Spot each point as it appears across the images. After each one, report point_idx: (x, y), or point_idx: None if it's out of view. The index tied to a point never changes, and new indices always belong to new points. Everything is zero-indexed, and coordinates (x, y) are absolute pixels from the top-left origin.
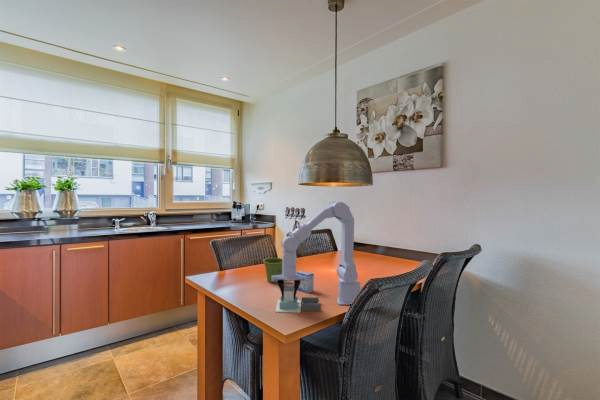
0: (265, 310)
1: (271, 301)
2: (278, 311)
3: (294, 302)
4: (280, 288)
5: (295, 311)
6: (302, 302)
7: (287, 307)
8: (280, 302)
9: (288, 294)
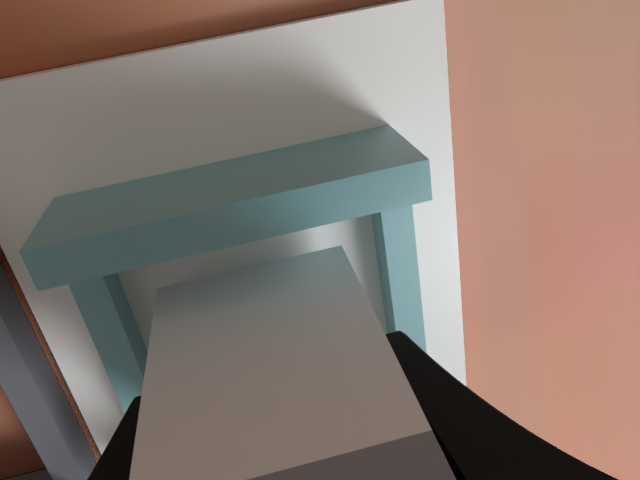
0: (614, 44)
1: (545, 391)
2: (385, 4)
3: (101, 263)
4: (583, 474)
5: (46, 77)
6: (51, 447)
7: (245, 166)
8: (411, 182)
9: (278, 400)
